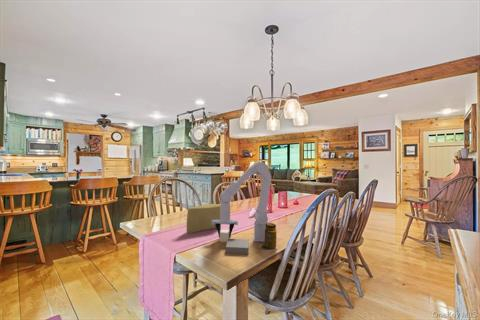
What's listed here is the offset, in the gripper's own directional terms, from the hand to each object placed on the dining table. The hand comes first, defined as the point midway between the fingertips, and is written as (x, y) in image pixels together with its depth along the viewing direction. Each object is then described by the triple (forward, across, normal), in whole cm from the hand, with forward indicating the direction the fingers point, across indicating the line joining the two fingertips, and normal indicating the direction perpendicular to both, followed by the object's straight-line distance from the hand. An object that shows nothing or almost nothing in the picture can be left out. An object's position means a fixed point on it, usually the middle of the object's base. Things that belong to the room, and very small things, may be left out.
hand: (224, 237), depth 123 cm
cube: (+2, 0, 0) cm, 2 cm away
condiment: (+2, +24, -8) cm, 25 cm away
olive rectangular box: (+2, -16, +17) cm, 23 cm away
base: (+2, +8, -11) cm, 14 cm away
